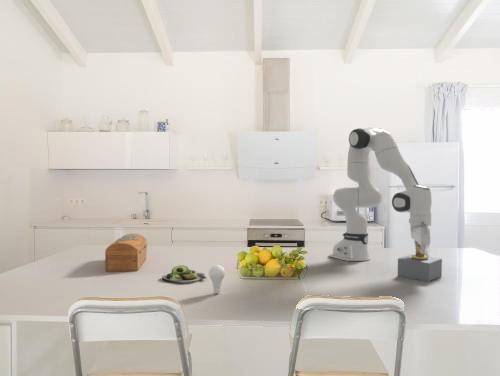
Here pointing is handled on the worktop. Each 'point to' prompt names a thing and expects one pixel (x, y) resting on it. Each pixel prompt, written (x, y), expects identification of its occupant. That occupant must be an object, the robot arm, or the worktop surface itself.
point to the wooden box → (126, 253)
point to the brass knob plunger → (419, 254)
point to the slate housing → (419, 268)
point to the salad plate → (183, 275)
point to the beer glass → (427, 249)
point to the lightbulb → (216, 277)
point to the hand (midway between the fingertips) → (419, 251)
